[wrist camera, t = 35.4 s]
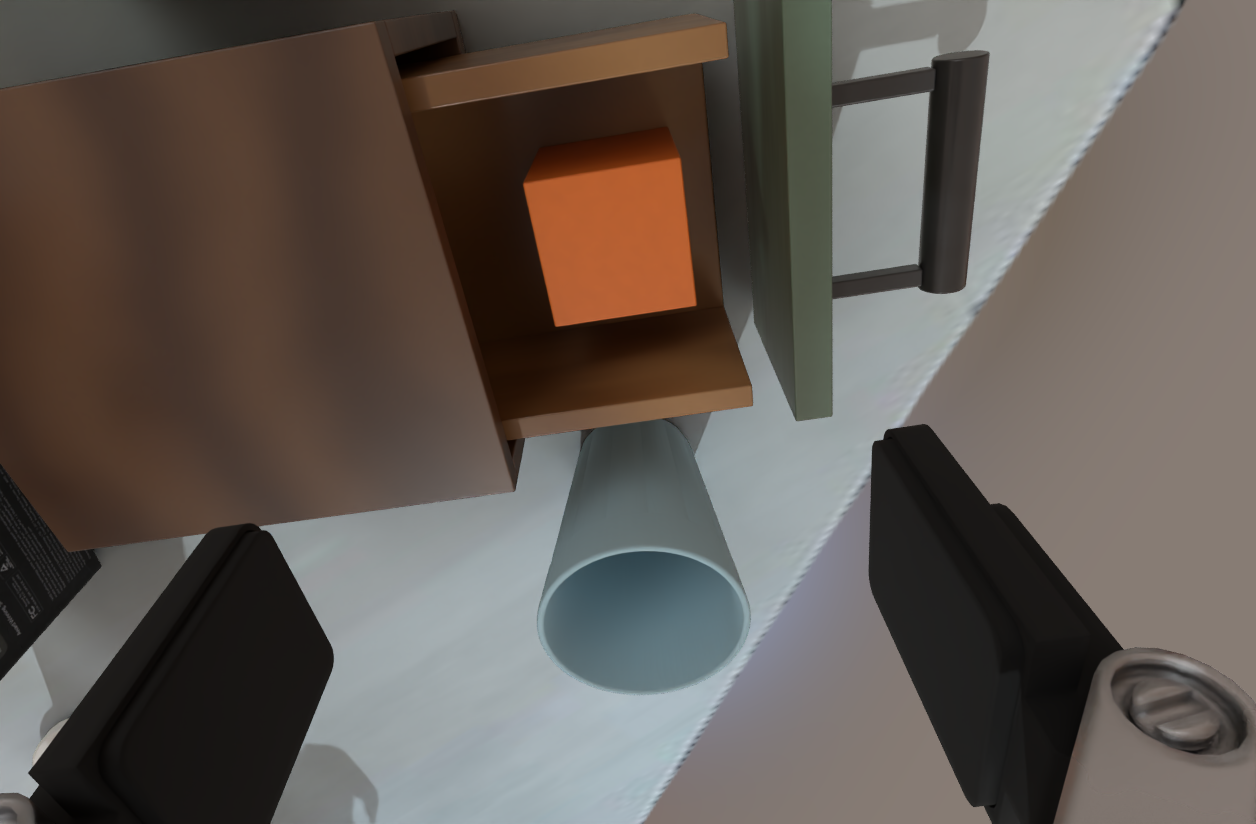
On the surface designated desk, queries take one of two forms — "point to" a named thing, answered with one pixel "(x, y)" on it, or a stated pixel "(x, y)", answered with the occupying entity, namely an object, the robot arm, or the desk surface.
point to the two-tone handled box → (775, 194)
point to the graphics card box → (32, 574)
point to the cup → (641, 569)
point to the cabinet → (236, 294)
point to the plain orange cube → (611, 226)
